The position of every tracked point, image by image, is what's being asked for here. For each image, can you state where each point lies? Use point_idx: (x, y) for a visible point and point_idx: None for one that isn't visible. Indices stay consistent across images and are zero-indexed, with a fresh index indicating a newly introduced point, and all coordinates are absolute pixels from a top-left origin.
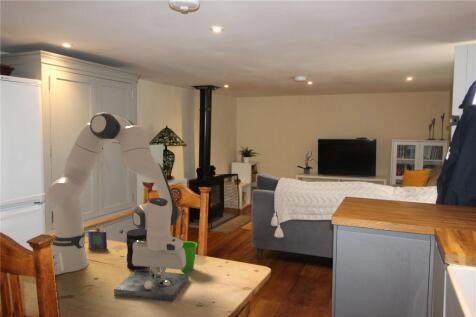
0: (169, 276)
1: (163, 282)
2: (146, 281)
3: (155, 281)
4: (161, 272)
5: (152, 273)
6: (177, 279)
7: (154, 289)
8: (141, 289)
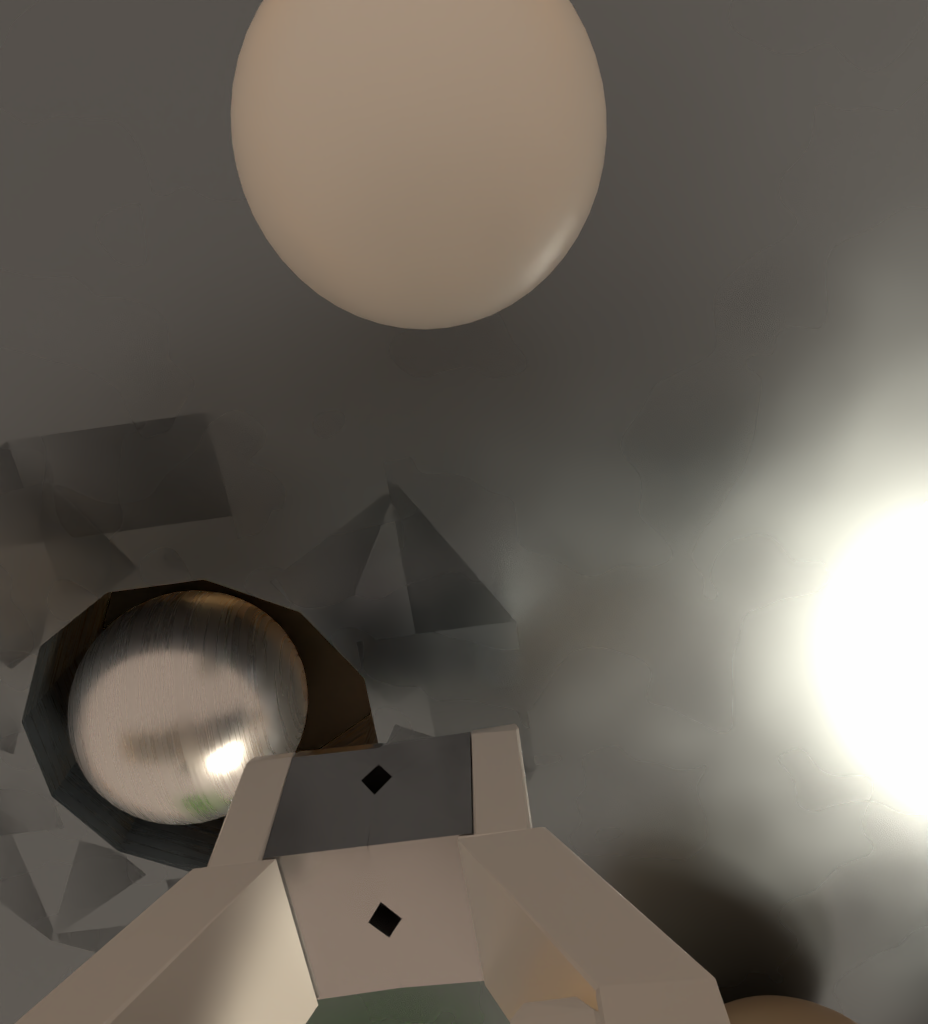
0: (329, 1017)
1: (256, 710)
2: (510, 76)
3: (511, 693)
4: (178, 946)
5: (798, 999)
6: (39, 953)
7: (210, 193)
8: (654, 17)
